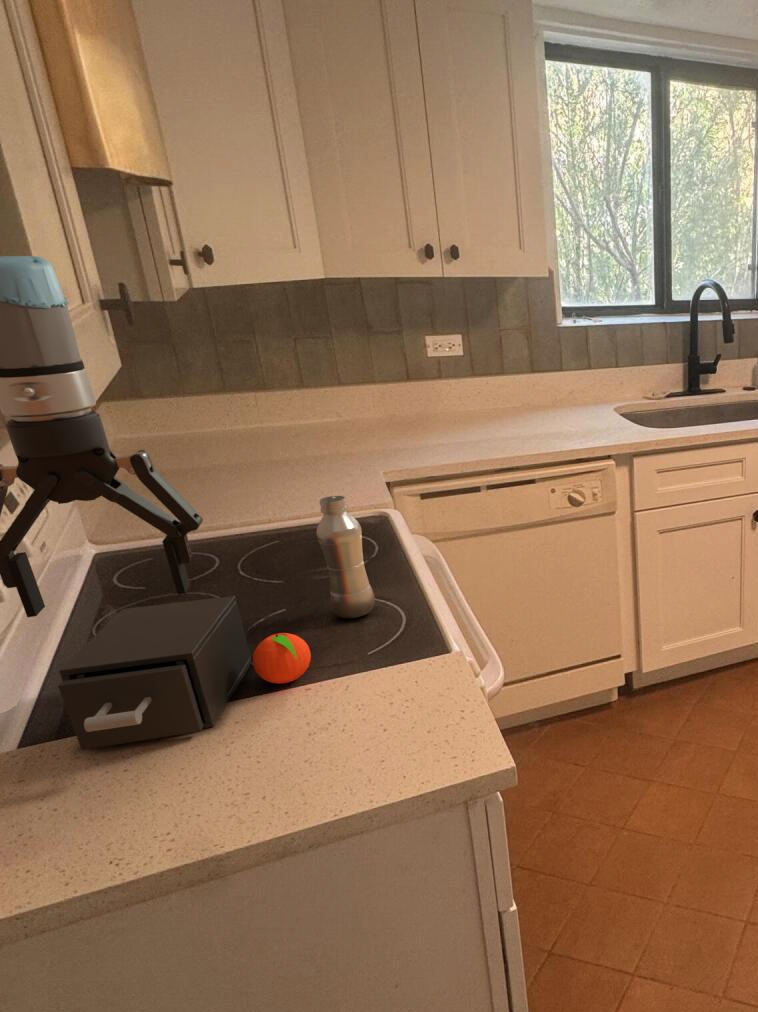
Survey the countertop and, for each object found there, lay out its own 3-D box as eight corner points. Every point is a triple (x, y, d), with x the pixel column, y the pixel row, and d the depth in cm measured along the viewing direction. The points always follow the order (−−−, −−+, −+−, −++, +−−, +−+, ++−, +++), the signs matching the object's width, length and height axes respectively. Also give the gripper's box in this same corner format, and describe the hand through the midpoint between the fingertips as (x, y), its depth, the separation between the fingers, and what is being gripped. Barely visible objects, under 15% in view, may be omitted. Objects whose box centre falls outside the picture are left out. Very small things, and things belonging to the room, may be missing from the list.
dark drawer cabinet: (213, 727, 99) (192, 652, 95) (86, 746, 95) (58, 670, 91) (252, 661, 115) (235, 595, 111) (144, 676, 111) (122, 608, 107)
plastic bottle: (361, 602, 133) (338, 490, 126) (386, 611, 130) (364, 496, 123) (325, 617, 128) (299, 501, 121) (350, 626, 125) (325, 508, 118)
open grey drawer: (186, 755, 92) (165, 690, 89) (60, 775, 88) (34, 708, 85) (239, 667, 111) (224, 611, 108) (137, 681, 108) (119, 624, 105)
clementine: (329, 678, 110) (319, 632, 107) (279, 700, 104) (267, 653, 102) (299, 663, 114) (288, 619, 111) (249, 684, 108) (237, 638, 106)
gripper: (-131, 433, 73) (-47, 636, 80) (187, 409, 82) (235, 592, 90) (-90, 418, 79) (-16, 608, 86) (201, 397, 89) (245, 570, 96)
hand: (112, 600), depth 88 cm, fingers open, 13 cm apart
